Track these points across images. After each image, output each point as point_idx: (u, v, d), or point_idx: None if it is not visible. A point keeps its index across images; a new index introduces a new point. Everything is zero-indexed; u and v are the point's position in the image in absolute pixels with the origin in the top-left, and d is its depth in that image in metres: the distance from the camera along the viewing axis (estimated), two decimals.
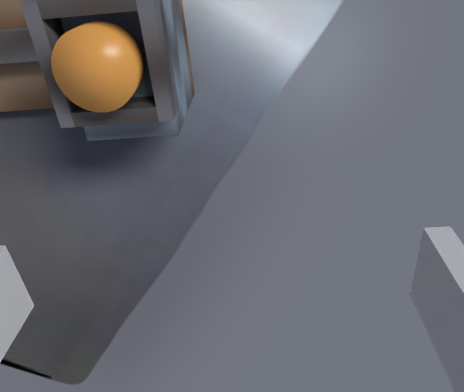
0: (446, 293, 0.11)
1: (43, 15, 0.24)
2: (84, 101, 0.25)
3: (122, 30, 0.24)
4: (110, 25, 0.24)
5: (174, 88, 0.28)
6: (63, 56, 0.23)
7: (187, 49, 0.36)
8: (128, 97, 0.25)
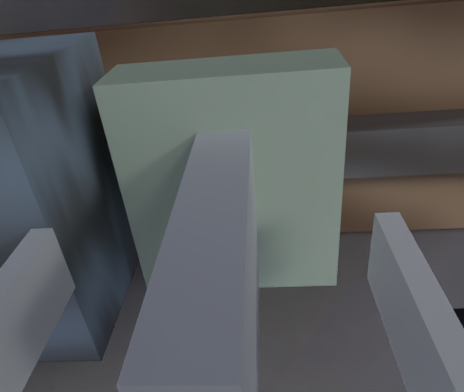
0: (390, 272, 0.11)
1: None
2: None
3: None
4: None
5: None
6: None
7: None
8: None
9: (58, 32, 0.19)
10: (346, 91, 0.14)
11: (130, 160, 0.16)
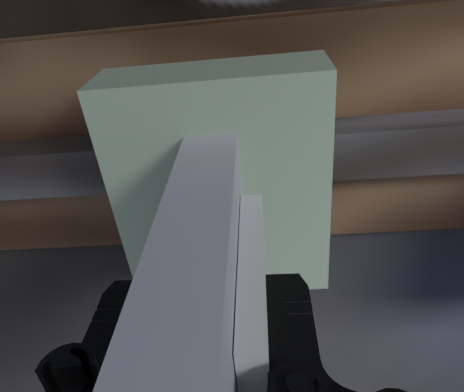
0: None
1: None
2: None
3: None
4: None
5: None
6: None
7: None
8: None
9: None
10: (332, 93, 0.14)
11: (117, 165, 0.16)
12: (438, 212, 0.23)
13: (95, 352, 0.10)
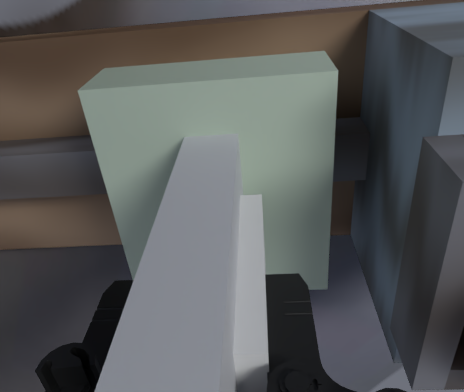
0: None
1: None
2: None
3: None
4: None
5: None
6: None
7: None
8: None
9: None
10: (333, 94, 0.14)
11: (117, 165, 0.16)
12: None
13: (95, 352, 0.10)
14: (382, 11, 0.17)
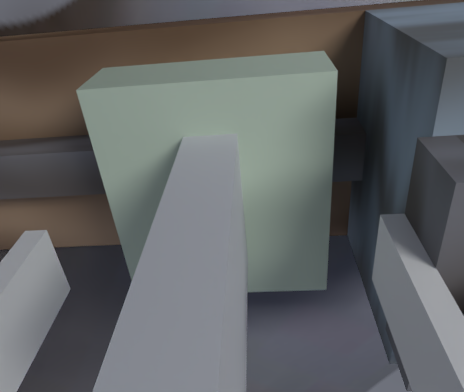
0: (396, 274, 0.11)
1: None
2: None
3: None
4: None
5: None
6: None
7: None
8: None
9: None
10: (333, 94, 0.14)
11: (116, 165, 0.16)
12: None
13: None
14: (378, 11, 0.17)
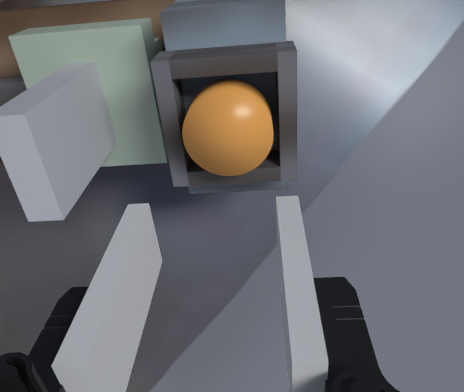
0: (279, 248, 0.13)
1: (173, 75, 0.22)
2: (211, 165, 0.23)
3: (255, 90, 0.23)
4: (245, 85, 0.22)
5: None
6: (197, 120, 0.22)
7: None
8: (260, 161, 0.23)
9: None
10: (141, 37, 0.27)
11: (33, 80, 0.28)
12: None
13: (43, 360, 0.10)
14: None
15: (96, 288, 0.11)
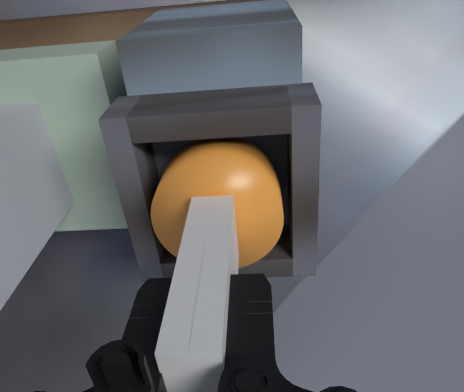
0: None
1: (134, 138, 0.15)
2: None
3: (257, 151, 0.16)
4: (242, 147, 0.15)
5: None
6: (171, 200, 0.15)
7: None
8: (264, 253, 0.16)
9: None
10: (99, 71, 0.19)
11: None
12: None
13: None
14: (163, 10, 0.22)
15: (180, 278, 0.11)
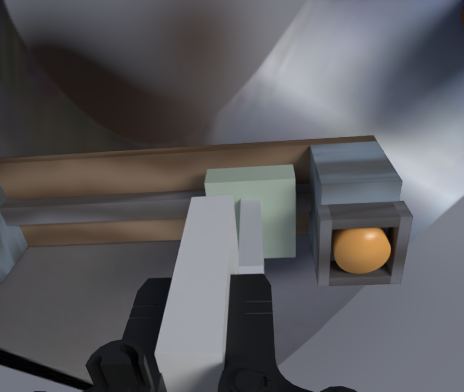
0: None
1: (333, 227, 0.36)
2: (349, 267, 0.38)
3: None
4: None
5: None
6: (345, 245, 0.37)
7: None
8: (379, 266, 0.38)
9: None
10: (294, 185, 0.40)
11: None
12: None
13: None
14: (314, 147, 0.43)
15: (180, 278, 0.11)
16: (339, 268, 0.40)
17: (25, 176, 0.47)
